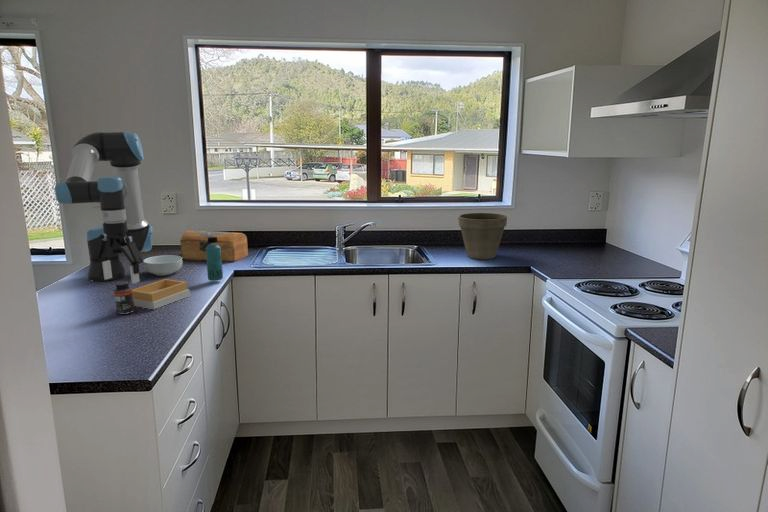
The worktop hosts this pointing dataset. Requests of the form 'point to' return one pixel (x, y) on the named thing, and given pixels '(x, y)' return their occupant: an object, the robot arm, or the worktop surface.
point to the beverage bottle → (214, 260)
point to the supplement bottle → (124, 298)
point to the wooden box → (198, 241)
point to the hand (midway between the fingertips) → (121, 280)
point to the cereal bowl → (163, 264)
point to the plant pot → (482, 233)
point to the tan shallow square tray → (160, 293)
